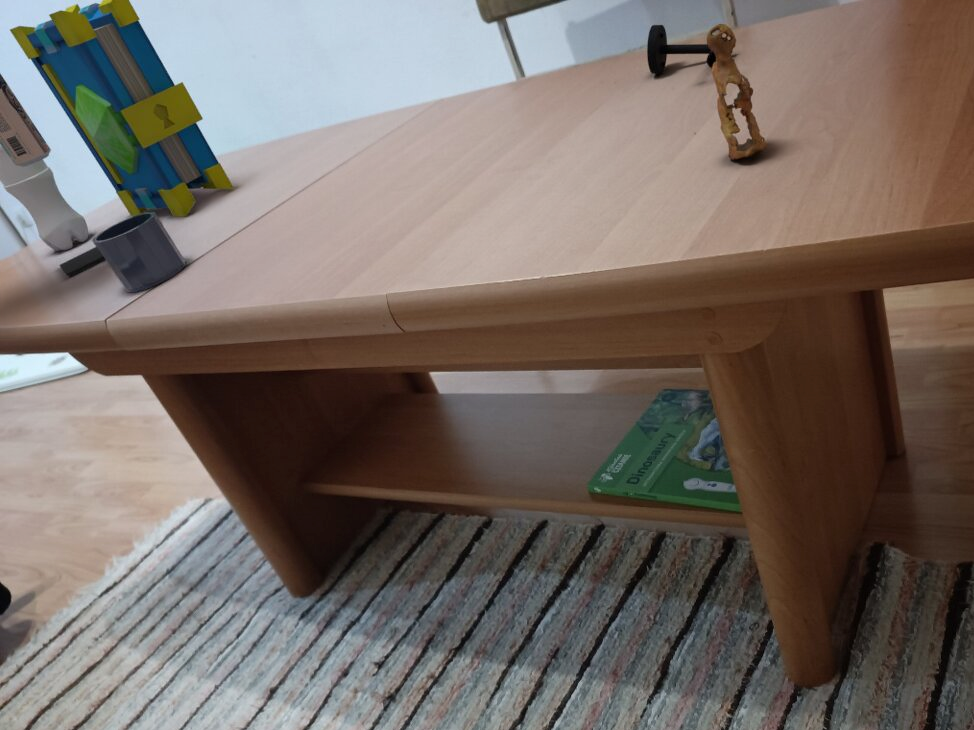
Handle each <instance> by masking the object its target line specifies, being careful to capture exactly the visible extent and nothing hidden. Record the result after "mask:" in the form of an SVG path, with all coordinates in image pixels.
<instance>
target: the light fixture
mask: <svg viewBox="0 0 974 730" xmlns="http://www.w3.org/2000/svg"><path fill="white" fill-rule="evenodd" d="M666 31H667V30H666V27H665V26H664V25H663V24H652V25H651V27H650V28H649V32H648V36H647V45H646V46H647V47H646V54H647V55H646V57H647V65H648V69H649V72H650V73H651V74H654V75H662V74H663V73H664V71H665V69H666V66H667V65H666V64H667V59H668V55H707V57H706V65H707V66H708V67H709V69H712V66H713V64H714V63H715V62H716V56H715V53H714V52H713V51H712V50H711V49H710V48H709V47H708V45H707V43H699V44H697V43H696V44H695V43H694V44H693V43H692V44H691V43H690V44H689V43H687V44H686V43H685V44H668V38H667V32H666ZM733 52H734V48H733V49H732V51H731V55H732V54H733ZM706 75H708V76H710V75H711V73H709V74H708V72H706Z"/></svg>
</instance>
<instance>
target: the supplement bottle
mask: <svg viewBox="0 0 974 730" xmlns="http://www.w3.org/2000/svg"><path fill="white" fill-rule="evenodd" d="M0 94H1V97H0V144H1V145H2V147H3V148H4V150H5V151H6V153H7V154H8V155H9V157H10V158H11V160H12V161H13V163H14V164H15V165H17V166H22V167H24V166H28V165H31V164H33V163H36V162H38V161H40V160H42V159H43V160H44V159H47V158H48V157H49V156H50V153H51V151H52V149H51V147H50V146H49V144H48V143H47V141H46V140H45V138H44V137H43V135H42V134H41V133H40V131H39V130H38V128H37V126H36V125H35V123H34V121H33V120H32V119H31V117H30V116H29V114H28V113H27V111H26V109H25V108H24V107H23V105H22V103H21V102H20V101H19V99H18V98H17V96H16V95H15V93H14V92H13V91H12V89H11V87H10V86H9V84H8V82H7V81H6V80H5V78H4V77H3V74H2V73H0Z"/></svg>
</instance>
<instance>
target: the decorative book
mask: <svg viewBox="0 0 974 730" xmlns="http://www.w3.org/2000/svg"><path fill="white" fill-rule="evenodd" d="M48 16H49V18H50V19H49V20H47V21H44V22H42V23H39V24H37V25H36V26H24V25H18V26H15V27H12V28H10V29H9V31H10V32H11V34H12V36H13V37H14V39H15V40H16V42H17V44H18V45H19V47H20V48H21V49H22V51H23V53H24V54H25V56H26V58H27V59H28V60H31V62H32V64H33V66H34V67H35V68H36V70H37V71H38V74H39V75H40V76H41V77H42V80H44V82H45V84H46V86H48V88H49V90H50V91H51V93H52V94H53V96H54V97H55V99H56V101H57V102H58V103H59V105H60V107H61V108H62V110H63V111H64V113H65V115H66V116H67V117H68V119H69V121H70V122H71V123H72V125H73V127H74V128H75V130H76V132H77V133H78V135H79V136H80V138H81V139H82V141H83V142H84V144H85V145H86V147H87V148H88V150H89V151H90V153H91V155H92V156H93V157H94V159H95V160H96V163H97V164H98V165H99V167H100V168H101V170H102V171H103V173H104V175H105V176H106V177H107V179H108V181H109V183H110V184H111V185H112V187H113V188H114V190H115V193H116V195H117V197H118V198H119V199H120V201H121V203H122V205H124V207H125V209H126V210H127V212H128V213H129V215H130V217H132V216H135V215H138V214H142V213H145V212H146V211H147V210H148V209H149V210H163V209H168V210H169V211H170V213H171V215H172V216H173V217H184V218H185V217H188V214H189V213H190V211H191V209H192V208H193V207H194V204H195V203H196V199H195V197H194V196H193V194H192V192H191V191H190V190H200V189H203V190H235V187H234V186H233V184H232V182H231V180H230V178H229V177H228V174H227V173H226V171H225V169H224V168H223V165H222V164H221V162H219V161H218V159H217V157H216V156H215V154H214V151H213V150H212V148H211V146H210V145H209V143H208V140H207V139H206V138H205V135H204V133H203V132H202V130H201V128H200V127H199V125H198V122H200V121H202V120H204V118H203V116H202V115H201V112H200V111H199V109H198V107H197V105H196V104H195V102H194V100H193V98H192V97H191V95H190V93H189V91H188V89H187V88H186V86H185V83H184V82H183V81H181V82H179V83H176V84H175V82H174V81H173V79H172V78H171V76H170V74H169V72H168V70H167V69H166V67H165V66H164V63H163V62H162V59H161V58H160V56H159V54H158V53H157V51H156V49H155V47H154V46H153V44H152V42H151V40H150V38H149V37H148V34H147V33H146V32H145V30H144V28H143V26H142V24H141V23H140V17H139V16H138V14H137V12H136V10H135V8H134V6H133V5H132V3H131V1H130V0H102V1H101V2H100V3H97V2H94V3H92V4H89V5H86V6H83V7H80V6H79V4H78V3H76V4H73V5H71V6H69V7H68V6H67V7H66V8H65V10H58V11H55V12H52V13H50V14H48Z"/></svg>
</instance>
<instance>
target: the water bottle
mask: <svg viewBox="0 0 974 730" xmlns="http://www.w3.org/2000/svg"><path fill="white" fill-rule="evenodd" d="M0 183H1V184H2V186H3V188H4V190H5V191H6V192H7V193H8V194H9V195H11V196H12V197H14V198H15V199H16V200H17V201H18V202H19V203H20V204H22V205H23V207H24V208H25V209H26V210H27V211H28V213H29V214H30V216H31V218H32V219H33V221H34V222H33V223H35V226H36V229H37V233H38V237H39V239H41V241H42V242H43V243H44V244H45V245H46V246H47V247H49V248H50V249H52V250H53V251H55V252H58V251H59V252H60V251H67V250H69V249H72V248H73V247H74V244H73V241H74V240H76V241H78V242H79V243H83V242H86V240H88V238H89V227H88V224H87V220H86V219H85V218H84V216H83V215H81V214H80V213H79V212H78V211H76V210H75V209H74V208H73V207H72V206H71V205H70V204H69V203H68V201H66V199H65V198H64V196H63V195H62V193H61V192H60V190H59V187H58V185H57V183H56V179H55V176H54V172H53V170H52V169H51V167H50V166H48V165H47V163H46V162H45V160H44V159H42V160H40V161H38V162H36V163H33V164H31V165H28V166H24V167H22V166H17V165H15V164H14V163H13V161H12V160H11V158H10V157H9V155H8V154H7V153H6V151H5V150H4V148H3V147H2V145H1V144H0Z"/></svg>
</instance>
